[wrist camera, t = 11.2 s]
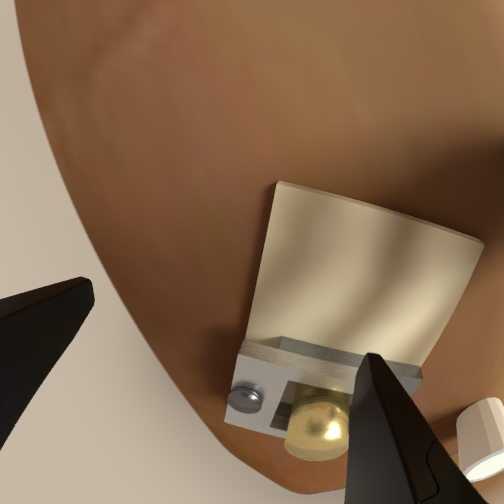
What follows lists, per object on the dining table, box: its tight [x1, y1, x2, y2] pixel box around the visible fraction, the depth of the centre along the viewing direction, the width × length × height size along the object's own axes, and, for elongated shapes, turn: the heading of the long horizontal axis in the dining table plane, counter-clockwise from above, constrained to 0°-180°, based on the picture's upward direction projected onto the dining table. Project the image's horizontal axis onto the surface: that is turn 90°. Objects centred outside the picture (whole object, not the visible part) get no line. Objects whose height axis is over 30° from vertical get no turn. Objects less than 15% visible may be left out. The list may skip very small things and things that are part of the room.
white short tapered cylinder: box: [456, 397, 504, 482], centre depth 20 cm, size 7×7×7 cm
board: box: [245, 180, 485, 407], centre depth 22 cm, size 14×22×1 cm, turn 170°
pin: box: [284, 382, 349, 461], centre depth 21 cm, size 4×4×6 cm
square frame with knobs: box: [224, 336, 423, 450], centre depth 22 cm, size 14×9×4 cm, turn 80°
